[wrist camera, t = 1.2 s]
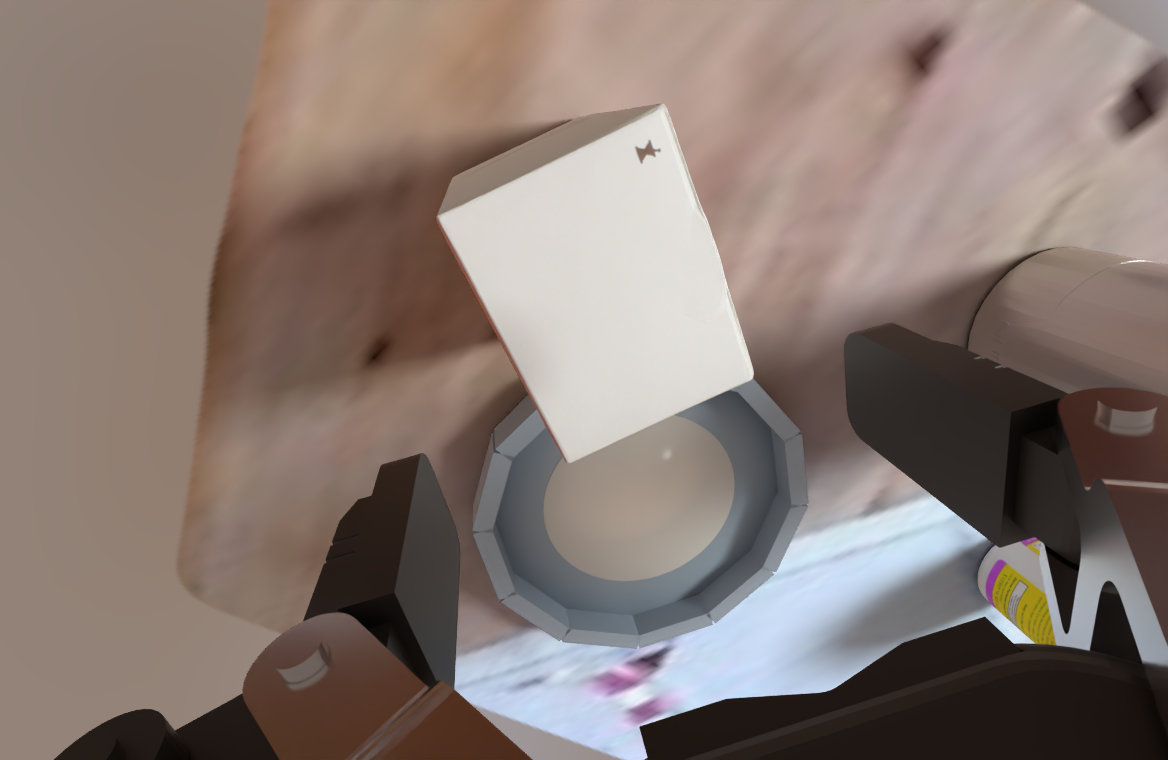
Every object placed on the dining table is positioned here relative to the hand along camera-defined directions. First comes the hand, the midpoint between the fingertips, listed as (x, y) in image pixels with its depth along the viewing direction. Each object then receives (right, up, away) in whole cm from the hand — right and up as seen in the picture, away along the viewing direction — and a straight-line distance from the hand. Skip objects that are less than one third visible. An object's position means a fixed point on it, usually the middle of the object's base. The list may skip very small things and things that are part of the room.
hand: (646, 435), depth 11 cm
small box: (-3, +8, +17) cm, 19 cm away
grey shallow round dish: (+2, -6, +23) cm, 23 cm away
